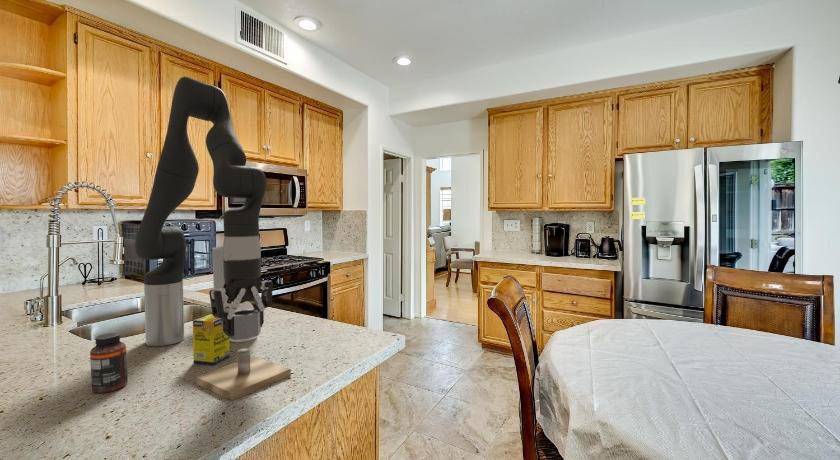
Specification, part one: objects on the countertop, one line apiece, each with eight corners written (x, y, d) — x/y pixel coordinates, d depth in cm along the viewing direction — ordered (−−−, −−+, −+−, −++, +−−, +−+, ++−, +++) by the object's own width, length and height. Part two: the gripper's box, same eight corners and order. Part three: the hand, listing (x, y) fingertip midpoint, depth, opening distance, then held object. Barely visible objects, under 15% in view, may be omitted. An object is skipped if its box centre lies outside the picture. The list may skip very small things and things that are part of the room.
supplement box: (213, 365, 92) (212, 321, 91) (192, 363, 93) (191, 320, 93) (230, 356, 98) (229, 314, 97) (210, 354, 99) (209, 313, 98)
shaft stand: (195, 383, 82) (194, 353, 82) (254, 362, 94) (253, 336, 94) (231, 400, 75) (231, 368, 74) (290, 375, 86) (290, 347, 86)
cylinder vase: (228, 324, 125) (226, 249, 124) (206, 319, 131) (205, 248, 130) (261, 316, 136) (259, 247, 135) (239, 311, 142) (238, 245, 141)
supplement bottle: (120, 379, 84) (118, 329, 84) (133, 385, 81) (131, 333, 81) (86, 390, 79) (84, 336, 79) (98, 397, 76) (96, 341, 76)
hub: (223, 336, 83) (222, 313, 83) (249, 328, 88) (248, 307, 88) (239, 341, 80) (238, 317, 80) (265, 333, 85) (265, 311, 85)
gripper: (261, 252, 91) (262, 321, 92) (199, 258, 79) (202, 337, 80) (280, 254, 87) (282, 325, 88) (219, 261, 75) (221, 343, 76)
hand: (244, 331), depth 84 cm, fingers closed on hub, 6 cm apart
